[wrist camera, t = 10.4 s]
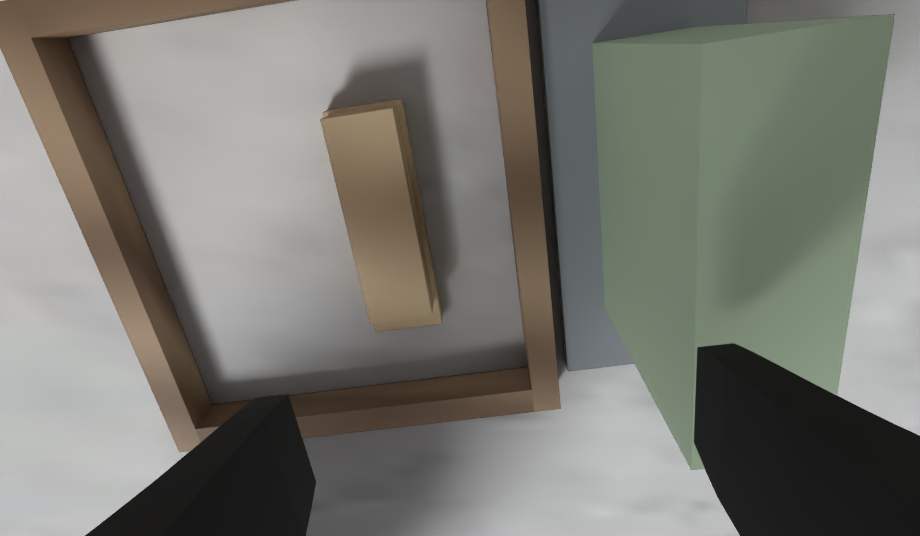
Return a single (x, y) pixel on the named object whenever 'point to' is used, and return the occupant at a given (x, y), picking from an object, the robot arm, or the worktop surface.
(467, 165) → the worktop surface
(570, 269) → the slate mat
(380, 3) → the worktop surface
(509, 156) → the brown flat square frame
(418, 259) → the offcut stack
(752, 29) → the board
